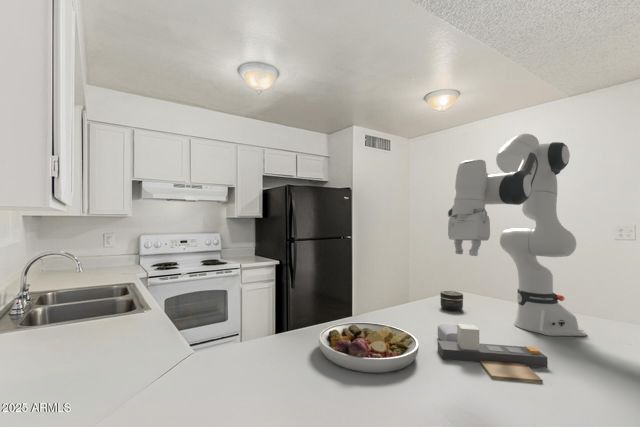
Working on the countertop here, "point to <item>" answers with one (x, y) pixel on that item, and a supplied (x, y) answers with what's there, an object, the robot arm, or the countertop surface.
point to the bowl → (368, 346)
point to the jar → (451, 301)
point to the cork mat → (510, 371)
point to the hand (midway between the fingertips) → (465, 255)
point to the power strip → (493, 354)
